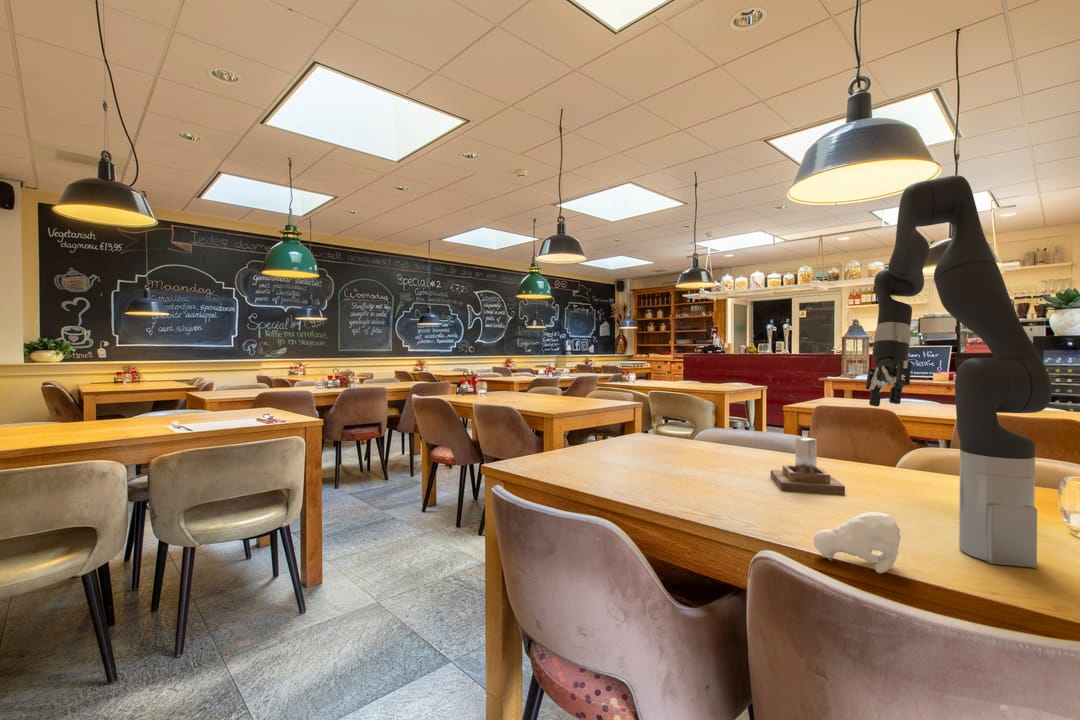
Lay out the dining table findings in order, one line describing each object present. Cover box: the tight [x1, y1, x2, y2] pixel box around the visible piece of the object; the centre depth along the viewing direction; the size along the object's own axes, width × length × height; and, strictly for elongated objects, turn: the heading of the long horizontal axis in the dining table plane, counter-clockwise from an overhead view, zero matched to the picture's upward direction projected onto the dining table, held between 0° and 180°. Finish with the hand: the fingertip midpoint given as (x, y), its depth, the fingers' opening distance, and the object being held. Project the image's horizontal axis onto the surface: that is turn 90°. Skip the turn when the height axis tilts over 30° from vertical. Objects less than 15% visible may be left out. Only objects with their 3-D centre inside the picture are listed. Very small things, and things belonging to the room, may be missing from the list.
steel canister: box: [795, 437, 818, 473], centre depth 126 cm, size 5×5×10 cm
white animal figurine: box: [813, 511, 902, 574], centre depth 79 cm, size 6×8×12 cm
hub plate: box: [770, 464, 846, 495], centre depth 126 cm, size 14×14×4 cm
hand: (884, 404), depth 123 cm, fingers open, 8 cm apart
